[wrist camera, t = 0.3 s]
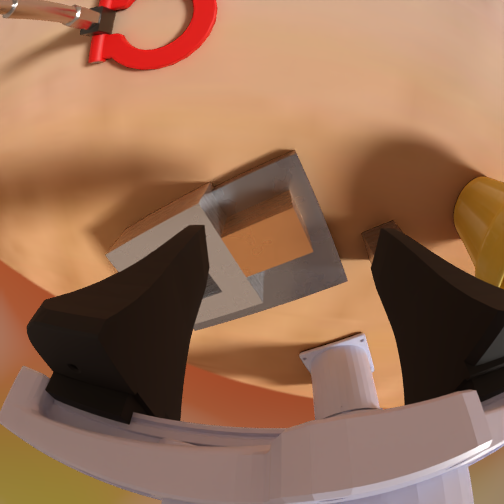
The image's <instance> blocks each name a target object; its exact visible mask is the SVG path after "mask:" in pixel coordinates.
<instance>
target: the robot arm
mask: <svg viewBox="0 0 504 504" xmlns="http://www.w3.org/2000/svg"><path fill="white" fill-rule="evenodd" d="M209 268H210V266H209V258H208V250H207V242H206V233H205V225H189V226H187V227H186V228H184V229H183V230H181V231H180V232H179V233H177V234H176V235H175V236H173V237H172V238H171V239H169V240H168V241H167V242H165V243H164V244H163V245H161V246H160V247H158V248H157V249H156V250H154V251H153V252H151V253H150V254H148V255H147V256H145V257H144V258H143V259H141V260H139V261H138V262H136V263H135V264H133V265H131V266H129V267H128V268H126V269H124V270H122V271H120V272H118V273H116V274H114V275H112V276H110V277H108V278H106V279H104V280H102V281H100V282H97V283H95V284H92V285H90V286H88V287H85V288H82V289H79V290H77V291H74V292H71V293H67V294H64V295H60V296H57V297H53V298H50V299H46V300H45V301H44V302H43V303H42V305H41V306H40V308H39V309H38V310H37V312H36V313H35V315H34V316H33V317H32V319H31V320H30V322H29V324H28V325H27V334H28V337H29V339H30V342H31V343H32V345H33V346H34V348H35V349H36V350H37V352H38V353H39V355H40V356H41V357H42V358H43V360H44V361H45V362H46V363H47V364H48V366H49V367H50V368H51V369H52V371H53V374H52V377H51V378H48V377H47V376H46V375H44V374H42V373H40V372H38V371H35V370H33V369H31V368H28V367H26V366H22V368H21V370H20V372H19V374H18V376H17V377H16V379H15V381H14V383H13V385H12V387H11V390H10V392H9V394H8V396H7V398H6V400H5V402H4V404H3V407H2V409H1V411H0V423H1V424H2V425H3V426H4V427H6V428H7V429H8V430H10V431H11V432H13V433H14V434H15V435H17V436H18V437H19V438H21V439H22V440H24V441H25V442H27V443H28V444H30V445H32V446H33V447H35V448H36V449H38V450H39V451H41V452H43V453H44V454H46V455H48V456H50V457H52V458H54V459H55V460H57V461H59V462H61V463H63V464H65V465H67V466H69V467H71V468H73V469H75V470H77V471H79V472H82V473H84V474H86V475H88V476H91V477H93V478H95V479H98V480H100V481H103V482H105V483H108V484H110V485H113V486H116V487H119V488H122V489H125V490H128V491H131V492H134V493H137V494H140V495H144V496H147V497H151V498H155V499H159V500H162V504H474V500H473V493H472V486H471V480H470V475H469V469H468V466H470V465H472V464H474V463H476V462H477V461H479V460H481V459H483V458H485V457H486V456H488V455H490V454H492V453H493V452H495V451H497V450H498V449H500V448H501V447H503V446H504V289H502V288H499V287H496V286H494V285H492V284H489V283H487V282H485V281H483V280H480V279H478V278H476V277H474V276H472V275H470V274H468V273H466V272H464V271H463V270H461V269H459V268H457V267H455V266H454V265H452V264H450V263H449V262H447V261H445V260H444V259H442V258H441V257H439V256H437V255H436V254H434V253H433V252H431V251H430V250H428V249H427V248H425V247H424V246H422V245H421V244H419V243H418V242H416V241H415V240H413V239H412V238H410V237H409V236H407V235H405V234H404V233H402V232H400V231H398V230H396V229H394V228H381V229H380V233H379V238H378V242H377V246H376V250H375V254H374V258H373V262H372V266H371V271H372V275H373V279H374V282H375V286H376V289H377V291H378V294H379V296H380V299H381V301H382V304H383V306H384V309H385V311H386V314H387V316H388V319H389V321H390V324H391V326H392V329H393V332H394V336H395V339H396V343H397V348H398V353H399V358H400V363H401V370H402V377H403V386H404V400H405V406H400V407H395V408H390V409H384V410H383V409H382V408H380V407H379V402H378V397H377V393H376V389H375V384H374V380H373V376H372V372H373V371H374V366H373V362H372V358H371V355H370V351H369V348H368V344H367V340H366V337H365V334H364V333H360V334H357V335H354V336H352V337H349V338H346V339H343V340H340V341H337V342H334V343H330V344H327V345H324V346H321V347H318V348H314V349H311V350H308V351H304V352H301V353H300V354H299V357H300V359H301V360H302V362H303V363H304V365H305V366H306V368H307V369H308V371H309V372H310V374H311V377H312V388H313V399H314V411H315V420H313V421H309V422H306V423H303V424H300V425H297V426H294V427H291V428H242V427H225V426H213V425H205V424H195V423H188V422H182V421H180V418H181V403H182V393H183V384H184V376H185V369H186V362H187V356H188V350H189V344H190V339H191V335H192V331H193V327H194V324H195V321H196V318H197V315H198V311H199V308H200V305H201V302H202V299H203V296H204V292H205V289H206V285H207V280H208V274H209Z"/></svg>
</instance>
